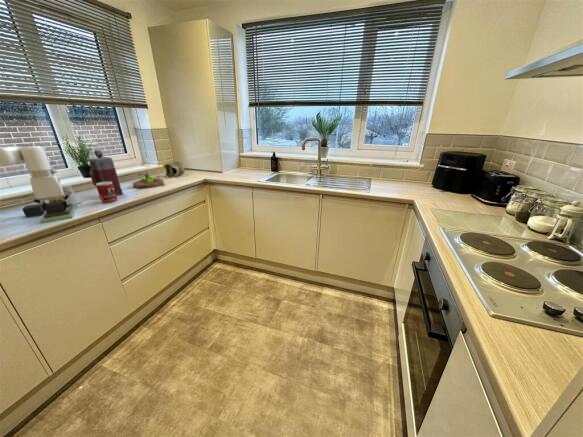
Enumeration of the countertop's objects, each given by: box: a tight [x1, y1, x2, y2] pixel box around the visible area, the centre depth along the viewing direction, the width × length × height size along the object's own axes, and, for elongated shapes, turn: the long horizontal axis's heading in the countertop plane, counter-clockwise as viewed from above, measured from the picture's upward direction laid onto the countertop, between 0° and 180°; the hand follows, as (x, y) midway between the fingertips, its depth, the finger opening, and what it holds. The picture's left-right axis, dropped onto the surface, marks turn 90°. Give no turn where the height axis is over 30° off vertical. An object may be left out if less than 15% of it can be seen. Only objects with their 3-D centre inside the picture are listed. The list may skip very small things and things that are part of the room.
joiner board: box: [40, 204, 78, 224], centre depth 121 cm, size 11×22×3 cm, turn 35°
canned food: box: [95, 181, 118, 204], centre depth 138 cm, size 8×8×11 cm
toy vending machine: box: [88, 149, 124, 197], centre depth 147 cm, size 9×11×28 cm
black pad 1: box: [22, 203, 46, 219], centre depth 121 cm, size 6×6×4 cm
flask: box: [63, 185, 83, 205], centre depth 137 cm, size 7×7×10 cm
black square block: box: [45, 201, 66, 214], centre depth 118 cm, size 6×6×4 cm
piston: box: [163, 161, 186, 179], centre depth 201 cm, size 11×12×11 cm
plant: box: [132, 169, 165, 190], centre depth 174 cm, size 20×20×11 cm
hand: (56, 209), depth 118 cm, fingers closed on black square block, 6 cm apart
